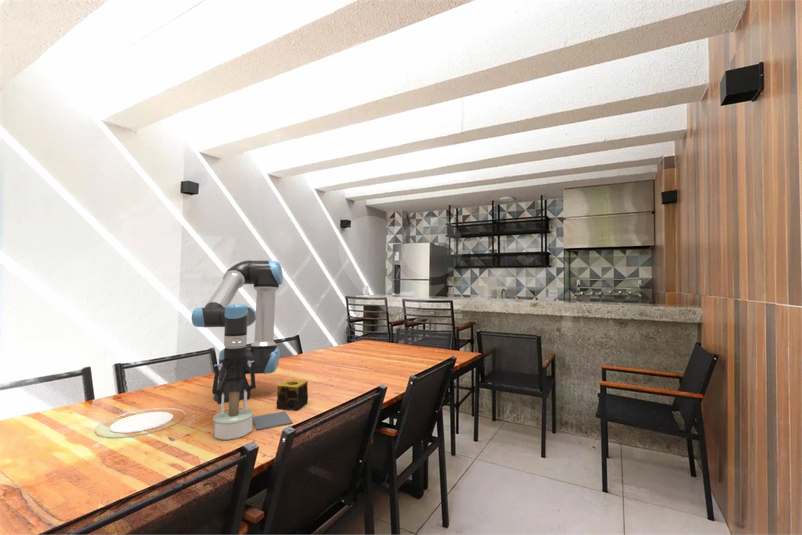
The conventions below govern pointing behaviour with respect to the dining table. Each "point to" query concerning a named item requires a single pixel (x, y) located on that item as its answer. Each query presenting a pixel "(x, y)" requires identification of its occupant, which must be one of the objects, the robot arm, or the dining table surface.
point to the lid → (233, 411)
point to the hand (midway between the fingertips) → (233, 410)
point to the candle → (292, 395)
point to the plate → (141, 422)
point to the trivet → (271, 420)
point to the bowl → (232, 430)
